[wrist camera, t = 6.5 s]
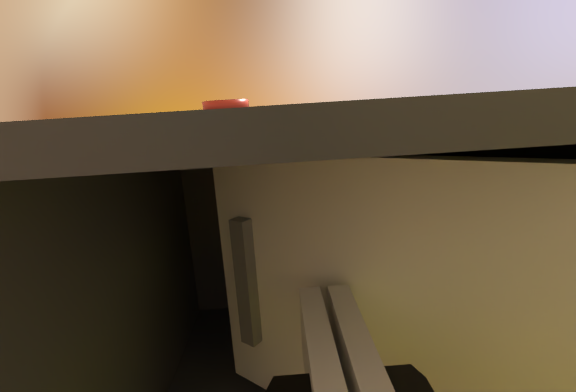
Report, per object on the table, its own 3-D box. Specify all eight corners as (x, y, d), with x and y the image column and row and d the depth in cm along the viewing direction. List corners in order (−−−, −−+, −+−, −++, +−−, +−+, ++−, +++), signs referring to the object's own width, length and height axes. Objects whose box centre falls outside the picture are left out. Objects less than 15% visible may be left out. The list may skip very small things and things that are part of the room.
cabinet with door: (421, 298, 27) (428, 91, 23) (682, 637, 10) (873, 32, 6) (168, 316, 27) (135, 109, 23) (-33, 700, 9) (-303, 102, 6)
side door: (628, 564, 10) (725, 163, 7) (637, 622, 9) (755, 175, 6) (246, 363, 19) (223, 150, 16) (227, 379, 18) (200, 153, 15)
